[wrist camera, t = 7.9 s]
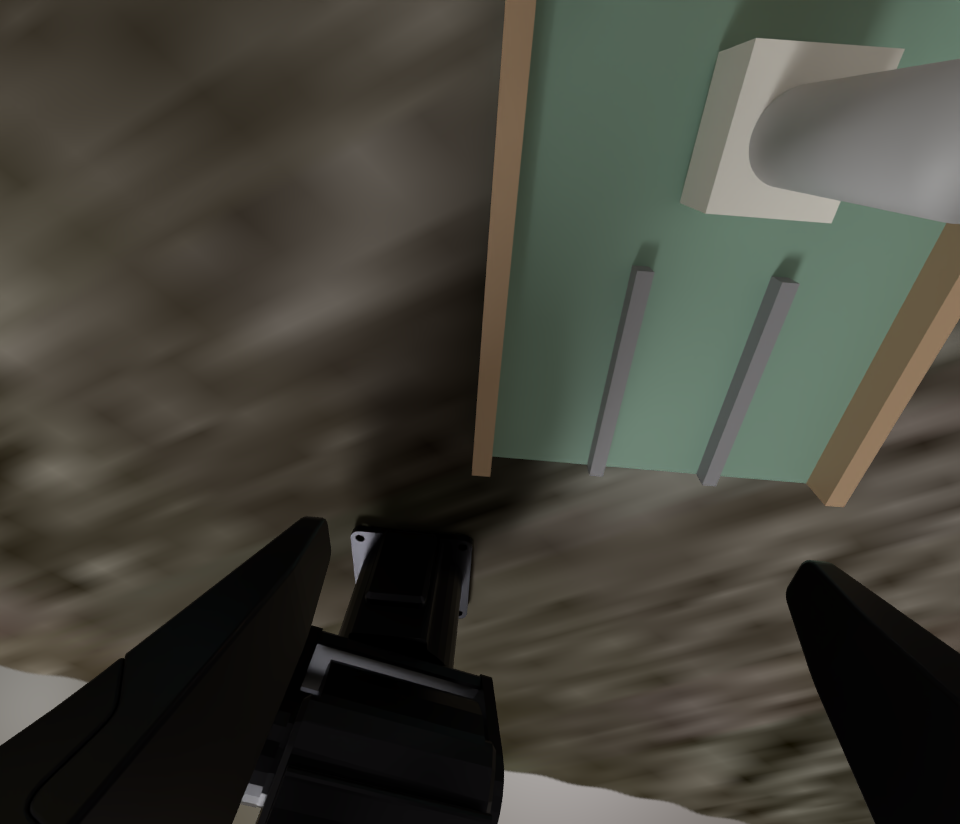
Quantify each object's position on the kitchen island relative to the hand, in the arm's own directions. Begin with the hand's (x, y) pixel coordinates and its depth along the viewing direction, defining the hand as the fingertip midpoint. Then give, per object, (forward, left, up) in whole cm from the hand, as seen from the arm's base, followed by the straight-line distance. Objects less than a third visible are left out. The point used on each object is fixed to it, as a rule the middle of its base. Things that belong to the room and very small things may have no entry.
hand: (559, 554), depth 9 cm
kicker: (+7, -6, -11) cm, 15 cm away
